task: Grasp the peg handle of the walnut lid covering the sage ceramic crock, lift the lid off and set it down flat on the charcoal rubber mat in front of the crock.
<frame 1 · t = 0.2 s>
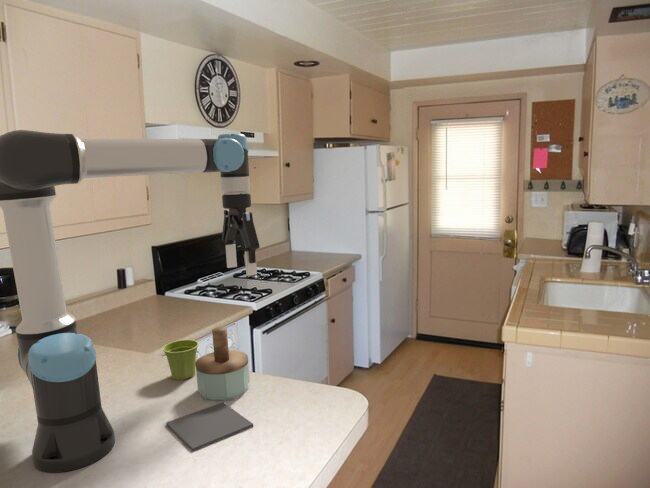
hand: (241, 271, 139), 28 cm above the counter, fingers open, 13 cm apart
plant pot: (183, 376, 139), on the counter
bowl: (224, 389, 129), on the counter
mat: (209, 425, 112), on the counter
lid: (222, 363, 128), point 7 cm above the counter, touching bowl
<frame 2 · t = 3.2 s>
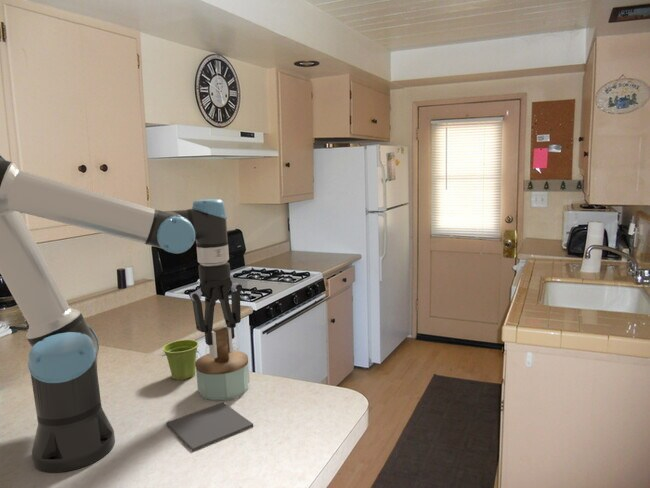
hand: (221, 353, 128), 10 cm above the counter, fingers closed on lid, 4 cm apart
lid: (222, 363, 128), point 7 cm above the counter, touching bowl, gripper
everything else where it was.
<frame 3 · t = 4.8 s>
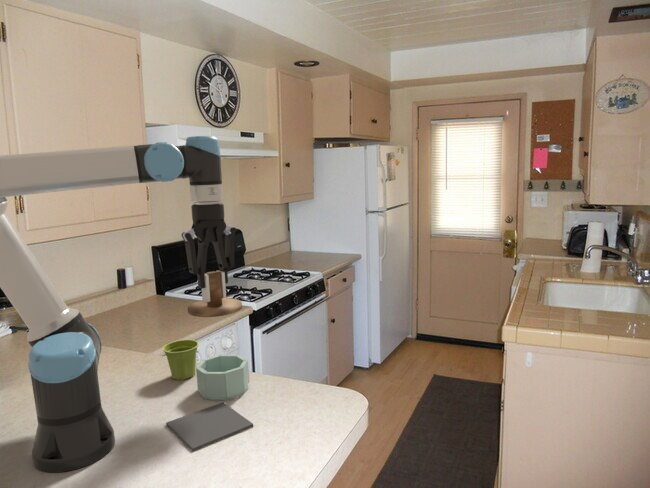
hand: (214, 298, 124), 24 cm above the counter, fingers closed on lid, 4 cm apart
lid: (215, 309, 124), point 22 cm above the counter, touching gripper
everything else where it was.
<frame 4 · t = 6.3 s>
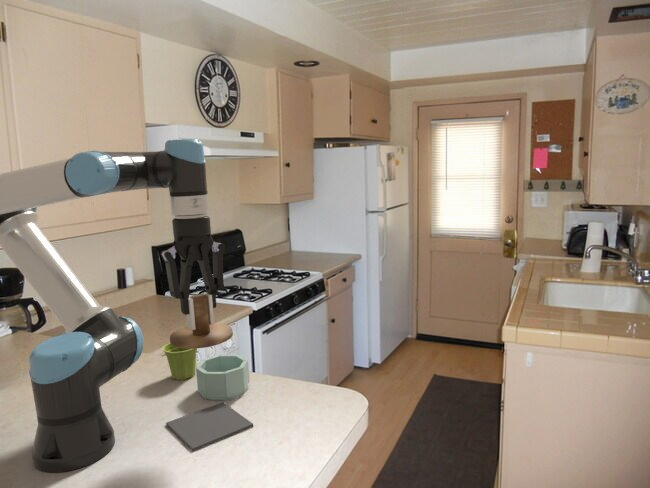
hand: (200, 325, 108), 23 cm above the counter, fingers closed on lid, 4 cm apart
lid: (201, 337, 108), point 20 cm above the counter, touching gripper
everything else where it was.
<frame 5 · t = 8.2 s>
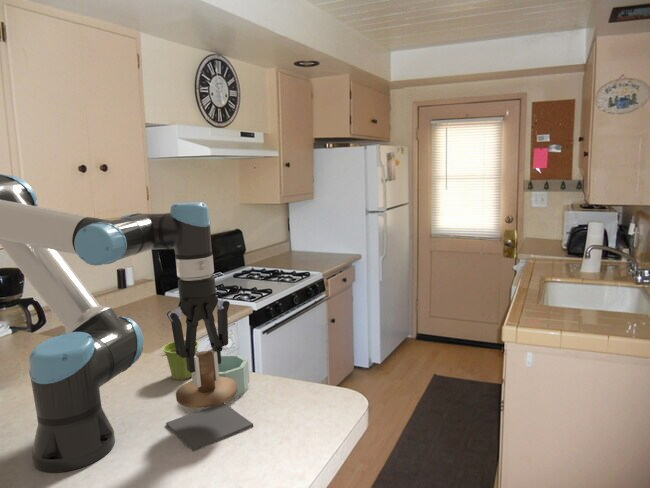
hand: (206, 381, 110), 10 cm above the counter, fingers closed on lid, 4 cm apart
lid: (207, 393, 110), point 8 cm above the counter, touching gripper
everything else where it was.
when the fingers open (5 cm above the counter, at t = 9.6 s): lid drops 2 cm, resting on mat.
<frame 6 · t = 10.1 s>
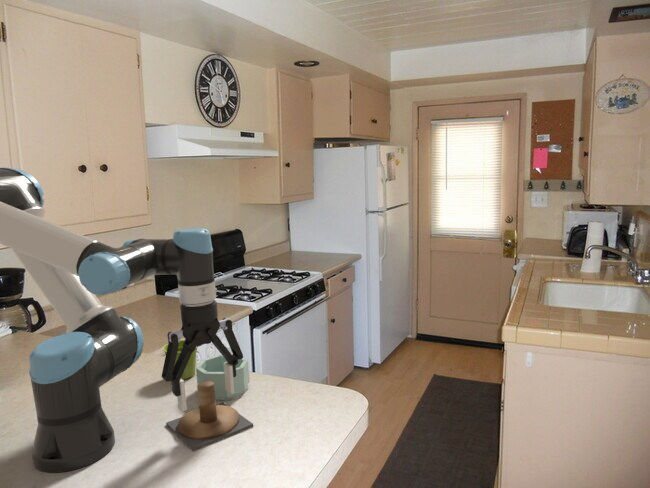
hand: (207, 399, 111), 6 cm above the counter, fingers open, 10 cm apart
lid: (209, 423, 112), point 1 cm above the counter, touching mat
everything else where it was.
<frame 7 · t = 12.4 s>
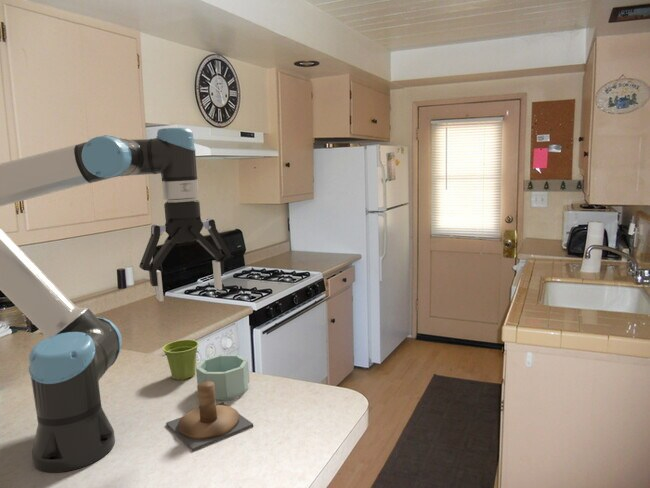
hand: (190, 294, 115), 28 cm above the counter, fingers open, 13 cm apart
nothing on the counter moved.
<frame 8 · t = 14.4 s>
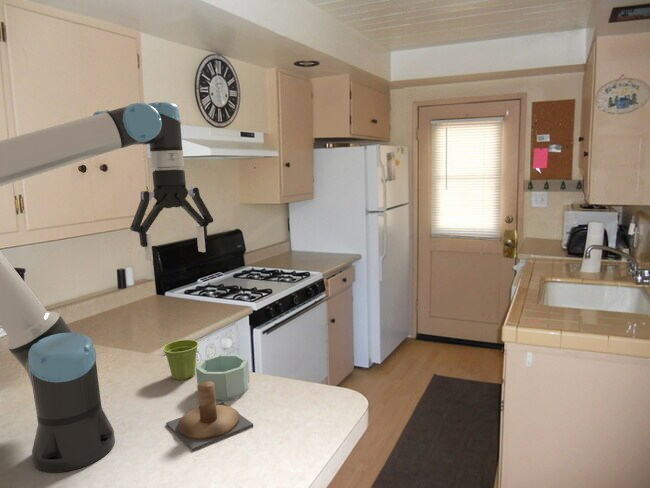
hand: (176, 255, 126), 35 cm above the counter, fingers open, 13 cm apart
nothing on the counter moved.
at the end: lid inside the target area on the mat (0.0 cm from its centre), point 0.6 cm above the mat's base; lid tilted 0°; lid touching mat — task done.
